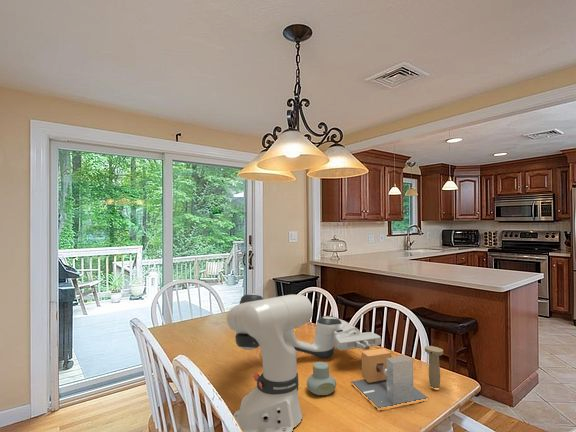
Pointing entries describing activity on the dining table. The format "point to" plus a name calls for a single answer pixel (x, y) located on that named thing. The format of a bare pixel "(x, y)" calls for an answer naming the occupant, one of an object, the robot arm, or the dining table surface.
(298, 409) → the robot arm
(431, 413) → the dining table surface
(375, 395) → the base board
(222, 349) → the dining table surface
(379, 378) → the orange block
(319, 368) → the air freshener
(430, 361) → the handle
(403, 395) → the grey block with rod
